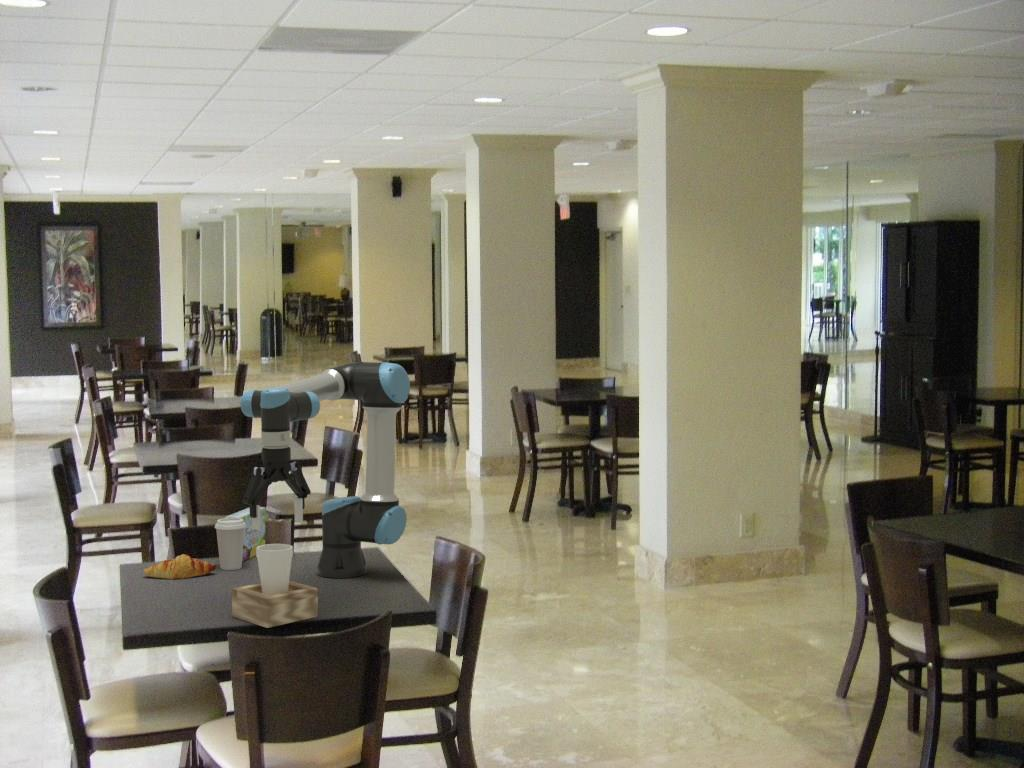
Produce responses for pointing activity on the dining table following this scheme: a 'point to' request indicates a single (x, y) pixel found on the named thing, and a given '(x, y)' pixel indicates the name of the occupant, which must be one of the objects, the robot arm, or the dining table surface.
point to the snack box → (251, 532)
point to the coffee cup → (230, 542)
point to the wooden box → (274, 604)
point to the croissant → (180, 568)
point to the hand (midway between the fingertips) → (277, 525)
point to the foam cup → (274, 567)
